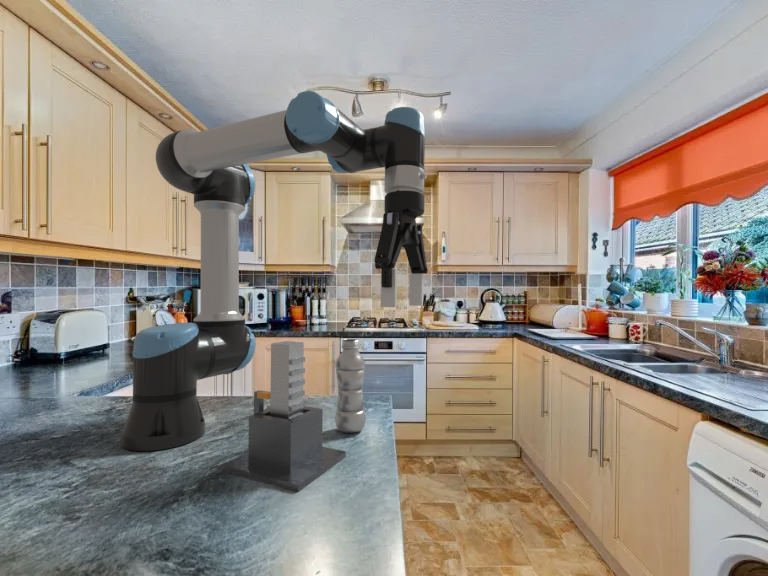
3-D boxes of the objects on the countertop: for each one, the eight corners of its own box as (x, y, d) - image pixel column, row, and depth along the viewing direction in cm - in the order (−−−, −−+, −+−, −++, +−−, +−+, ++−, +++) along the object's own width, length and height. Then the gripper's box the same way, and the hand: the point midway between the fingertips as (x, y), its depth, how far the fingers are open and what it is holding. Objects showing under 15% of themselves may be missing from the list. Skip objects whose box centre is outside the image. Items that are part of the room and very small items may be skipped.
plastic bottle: (361, 437, 80) (361, 342, 80) (330, 435, 81) (331, 341, 82) (368, 427, 86) (369, 338, 87) (340, 425, 88) (340, 338, 88)
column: (268, 458, 66) (269, 343, 67) (284, 449, 70) (285, 341, 71) (289, 463, 64) (291, 345, 65) (305, 454, 68) (306, 342, 69)
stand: (221, 470, 64) (222, 399, 65) (277, 442, 77) (278, 382, 77) (298, 491, 58) (298, 412, 58) (345, 456, 70) (346, 391, 71)
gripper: (396, 172, 59) (395, 308, 59) (442, 206, 82) (441, 305, 81) (354, 177, 62) (353, 307, 62) (409, 209, 85) (408, 304, 85)
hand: (403, 306), depth 72 cm, fingers open, 13 cm apart
